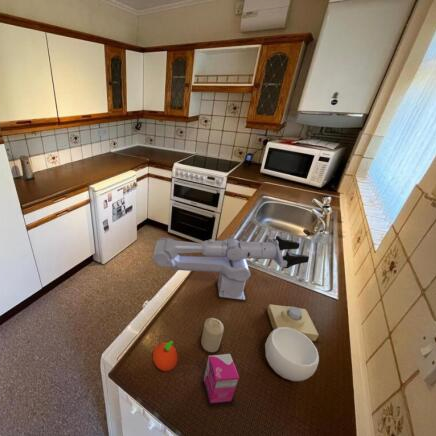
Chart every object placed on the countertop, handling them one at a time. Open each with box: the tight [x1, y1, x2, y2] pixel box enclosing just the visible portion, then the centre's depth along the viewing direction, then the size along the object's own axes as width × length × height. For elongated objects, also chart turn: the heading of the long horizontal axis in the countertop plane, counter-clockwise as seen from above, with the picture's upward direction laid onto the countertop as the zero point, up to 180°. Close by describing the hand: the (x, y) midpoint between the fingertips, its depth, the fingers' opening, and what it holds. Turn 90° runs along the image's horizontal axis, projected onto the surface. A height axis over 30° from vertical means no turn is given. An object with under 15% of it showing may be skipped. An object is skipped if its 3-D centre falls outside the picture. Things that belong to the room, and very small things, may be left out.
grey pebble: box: [288, 306, 302, 320], centre depth 78 cm, size 4×4×2 cm
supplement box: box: [203, 353, 240, 404], centre depth 60 cm, size 6×6×12 cm
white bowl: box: [264, 327, 320, 382], centre depth 66 cm, size 12×12×10 cm
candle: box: [200, 317, 225, 353], centre depth 71 cm, size 6×6×10 cm
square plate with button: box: [266, 303, 319, 342], centre depth 79 cm, size 12×10×5 cm
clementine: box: [152, 340, 178, 372], centre depth 67 cm, size 8×7×7 cm
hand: (303, 252), depth 80 cm, fingers open, 7 cm apart
